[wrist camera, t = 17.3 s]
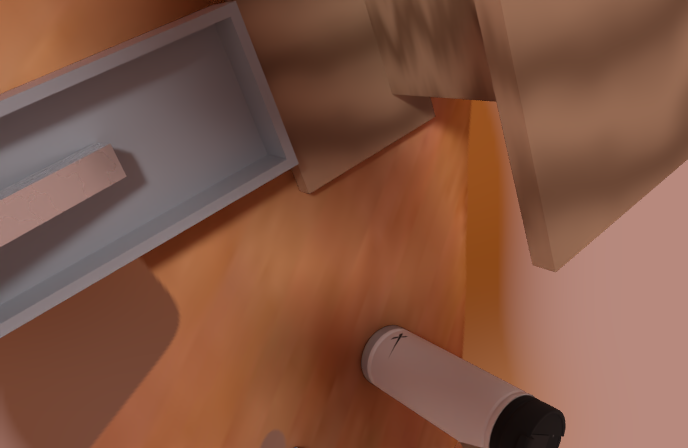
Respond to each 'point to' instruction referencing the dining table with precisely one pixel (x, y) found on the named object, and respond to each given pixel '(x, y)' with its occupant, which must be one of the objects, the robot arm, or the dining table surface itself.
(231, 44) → the blue-gray tray
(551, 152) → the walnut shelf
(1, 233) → the bar
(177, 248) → the dining table surface
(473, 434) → the travel mug
